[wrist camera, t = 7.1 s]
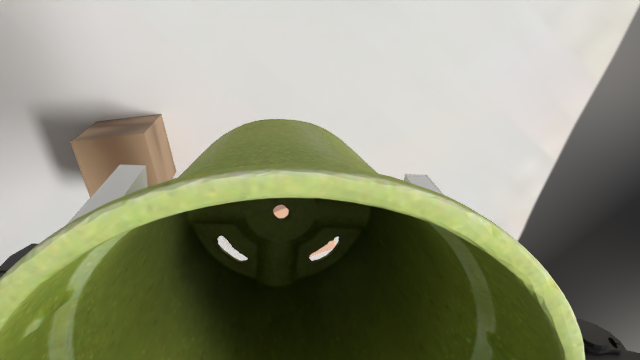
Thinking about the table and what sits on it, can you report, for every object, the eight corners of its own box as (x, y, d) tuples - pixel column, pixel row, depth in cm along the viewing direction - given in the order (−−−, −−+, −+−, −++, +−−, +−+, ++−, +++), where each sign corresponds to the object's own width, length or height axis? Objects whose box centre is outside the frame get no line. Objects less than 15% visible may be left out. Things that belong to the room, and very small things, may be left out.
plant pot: (71, 204, 13) (-219, 507, 5) (279, -14, 11) (294, -31, 4) (277, 348, 17) (282, 663, 9) (465, 200, 15) (684, 433, 7)
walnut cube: (116, 178, 35) (93, 206, 30) (97, 121, 33) (70, 141, 28) (176, 171, 35) (162, 197, 31) (161, 114, 33) (144, 133, 29)
